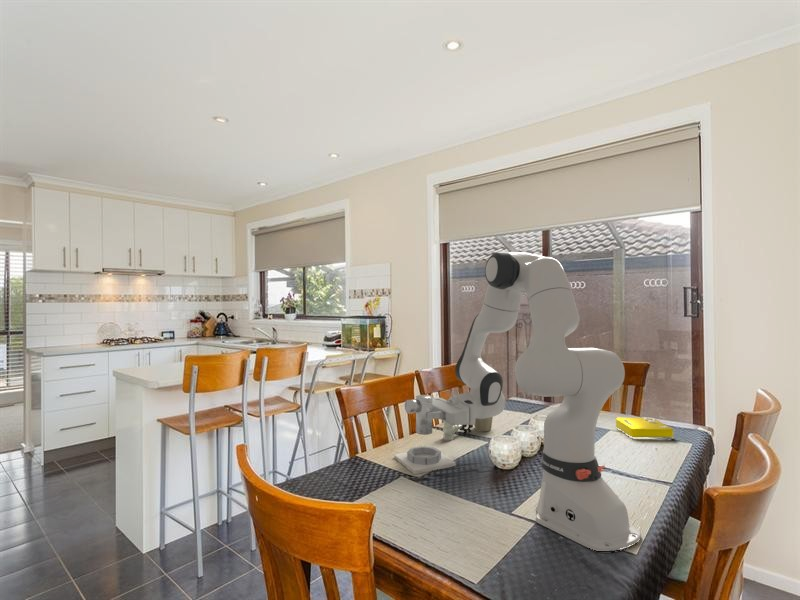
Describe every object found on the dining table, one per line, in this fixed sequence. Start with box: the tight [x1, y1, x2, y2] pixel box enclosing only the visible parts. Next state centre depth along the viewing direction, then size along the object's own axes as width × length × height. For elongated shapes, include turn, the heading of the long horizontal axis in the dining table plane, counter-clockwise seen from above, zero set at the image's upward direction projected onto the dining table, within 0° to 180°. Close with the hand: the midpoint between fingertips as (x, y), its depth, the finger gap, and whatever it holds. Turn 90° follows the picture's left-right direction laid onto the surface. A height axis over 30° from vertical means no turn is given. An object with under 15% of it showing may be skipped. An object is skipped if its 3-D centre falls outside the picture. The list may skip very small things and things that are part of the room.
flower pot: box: [473, 417, 493, 432], centre depth 167 cm, size 9×9×9 cm
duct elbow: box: [404, 394, 433, 436], centre depth 133 cm, size 5×8×11 cm, turn 115°
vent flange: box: [393, 445, 457, 475], centre depth 134 cm, size 14×14×3 cm
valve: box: [442, 420, 474, 441], centre depth 158 cm, size 7×7×12 cm
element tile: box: [615, 417, 674, 438], centre depth 162 cm, size 15×15×5 cm
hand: (421, 413), depth 134 cm, fingers closed on duct elbow, 5 cm apart
